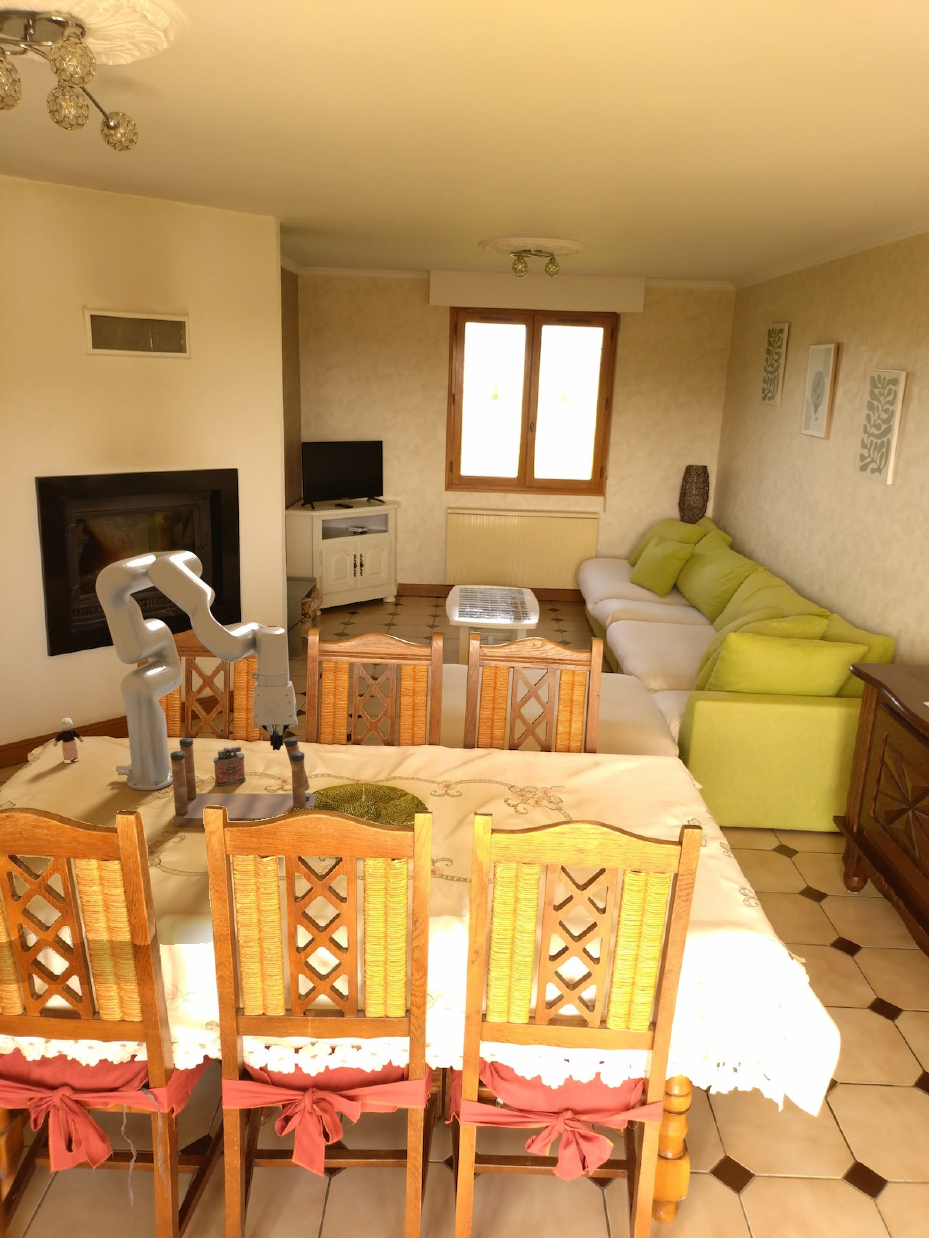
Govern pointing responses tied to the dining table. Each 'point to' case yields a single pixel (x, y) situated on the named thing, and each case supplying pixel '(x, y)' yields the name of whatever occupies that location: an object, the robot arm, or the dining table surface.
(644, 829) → the dining table surface
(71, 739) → the grandmother figurine
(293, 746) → the folding leg
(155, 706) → the robot arm
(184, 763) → the stool
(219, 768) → the lighter
